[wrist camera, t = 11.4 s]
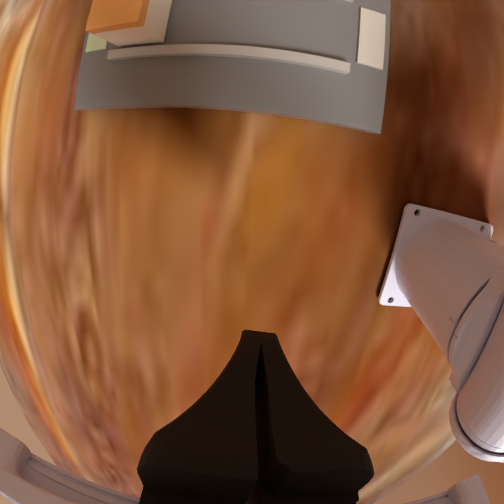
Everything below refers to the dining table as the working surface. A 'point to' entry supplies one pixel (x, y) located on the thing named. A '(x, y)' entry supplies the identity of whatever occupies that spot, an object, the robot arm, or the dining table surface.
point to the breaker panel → (252, 62)
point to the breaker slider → (129, 21)
